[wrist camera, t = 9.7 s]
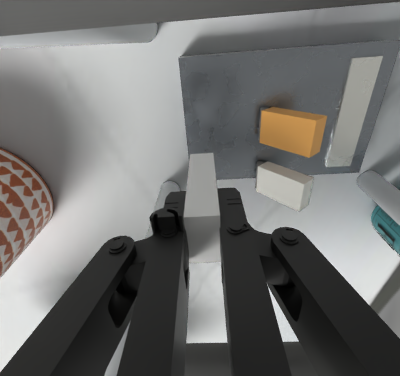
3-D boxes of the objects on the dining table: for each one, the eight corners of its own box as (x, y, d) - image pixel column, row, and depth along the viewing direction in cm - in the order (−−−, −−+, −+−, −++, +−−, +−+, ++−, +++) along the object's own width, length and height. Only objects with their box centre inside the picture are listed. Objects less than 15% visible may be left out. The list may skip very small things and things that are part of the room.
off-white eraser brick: (251, 188, 26) (298, 212, 22) (252, 164, 24) (304, 184, 20) (260, 183, 27) (308, 204, 23) (262, 159, 25) (314, 177, 21)
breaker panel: (192, 170, 28) (191, 182, 26) (180, 56, 22) (178, 58, 20) (346, 162, 27) (360, 173, 25) (381, 40, 21) (404, 40, 19)
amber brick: (253, 141, 23) (309, 157, 19) (255, 109, 21) (316, 120, 17) (264, 136, 24) (319, 151, 20) (266, 105, 22) (327, 115, 18)
